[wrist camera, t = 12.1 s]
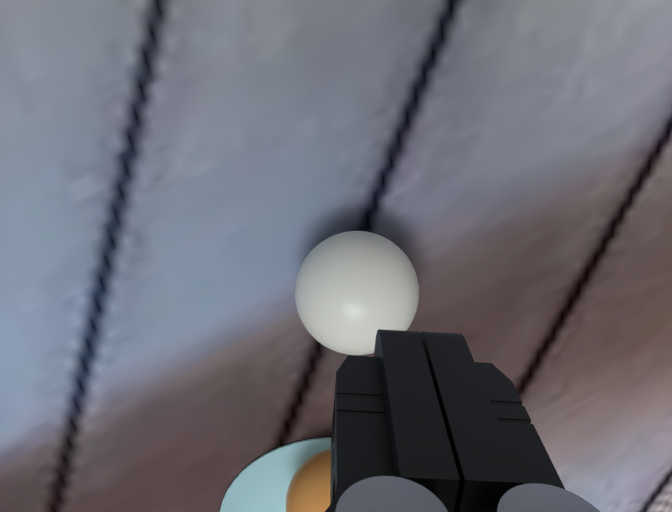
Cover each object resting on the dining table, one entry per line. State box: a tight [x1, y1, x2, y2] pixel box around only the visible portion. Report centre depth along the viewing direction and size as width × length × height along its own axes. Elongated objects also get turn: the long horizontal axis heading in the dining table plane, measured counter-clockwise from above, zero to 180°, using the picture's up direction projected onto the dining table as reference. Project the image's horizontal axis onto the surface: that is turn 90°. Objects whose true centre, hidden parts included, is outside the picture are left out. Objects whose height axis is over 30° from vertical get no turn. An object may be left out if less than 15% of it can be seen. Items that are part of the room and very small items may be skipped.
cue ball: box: [295, 231, 419, 355], centre depth 25 cm, size 6×6×6 cm
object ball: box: [286, 449, 331, 512], centre depth 30 cm, size 6×6×6 cm
